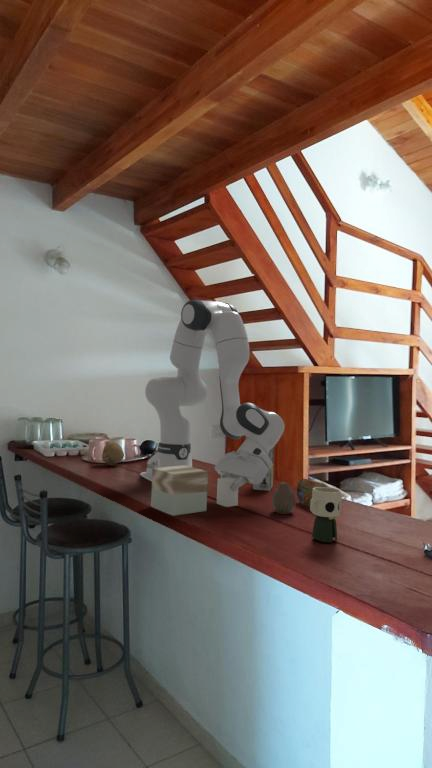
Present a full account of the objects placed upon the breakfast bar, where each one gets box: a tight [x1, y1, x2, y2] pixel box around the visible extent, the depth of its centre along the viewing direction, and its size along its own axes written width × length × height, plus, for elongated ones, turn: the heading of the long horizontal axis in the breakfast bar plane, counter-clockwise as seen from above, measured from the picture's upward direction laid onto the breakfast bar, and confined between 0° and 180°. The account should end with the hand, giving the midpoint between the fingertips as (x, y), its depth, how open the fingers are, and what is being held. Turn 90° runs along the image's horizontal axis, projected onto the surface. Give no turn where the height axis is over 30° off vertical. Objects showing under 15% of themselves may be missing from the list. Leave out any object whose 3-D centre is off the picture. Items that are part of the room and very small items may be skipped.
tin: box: [296, 478, 328, 508], centre depth 177 cm, size 15×3×8 cm, turn 24°
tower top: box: [151, 465, 209, 496], centre depth 167 cm, size 12×12×6 cm
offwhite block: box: [216, 477, 239, 508], centre depth 175 cm, size 5×4×8 cm
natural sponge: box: [101, 441, 125, 467], centre depth 237 cm, size 9×9×10 cm
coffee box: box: [252, 446, 275, 492], centre depth 203 cm, size 9×6×16 cm
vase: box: [271, 482, 296, 515], centre depth 168 cm, size 7×7×9 cm
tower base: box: [150, 487, 208, 517], centre depth 167 cm, size 12×12×6 cm
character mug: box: [309, 486, 343, 543], centre depth 141 cm, size 11×7×13 cm, turn 126°
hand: (226, 487), depth 175 cm, fingers closed on offwhite block, 5 cm apart
